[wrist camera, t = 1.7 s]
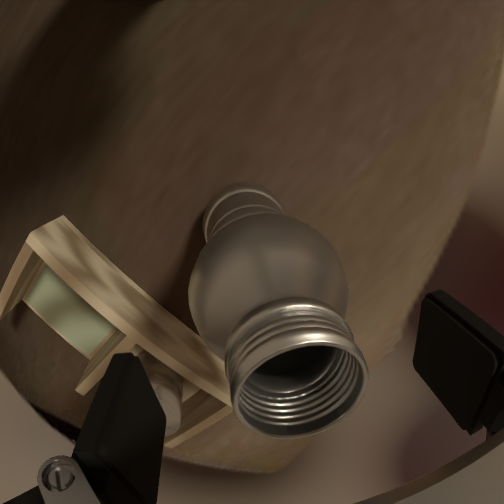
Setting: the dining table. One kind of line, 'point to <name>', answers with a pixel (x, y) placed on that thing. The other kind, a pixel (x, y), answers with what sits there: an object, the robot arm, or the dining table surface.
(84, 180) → the dining table surface
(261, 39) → the dining table surface
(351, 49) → the dining table surface
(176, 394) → the grey short cylinder
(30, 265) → the divider rack
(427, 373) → the robot arm
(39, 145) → the dining table surface
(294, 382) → the plastic bottle
